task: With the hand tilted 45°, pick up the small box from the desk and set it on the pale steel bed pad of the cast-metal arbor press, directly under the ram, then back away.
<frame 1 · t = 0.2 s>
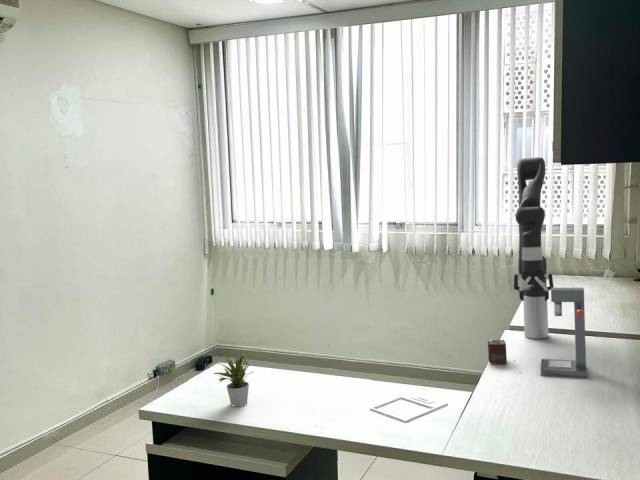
hand: (534, 300, 232), 18 cm above the table, tool pointing down, fingers open, 8 cm apart
press: (563, 370, 202), on the table
photo frame: (408, 409, 180), on the table
box: (497, 362, 217), on the table
house plant: (238, 403, 193), on the table
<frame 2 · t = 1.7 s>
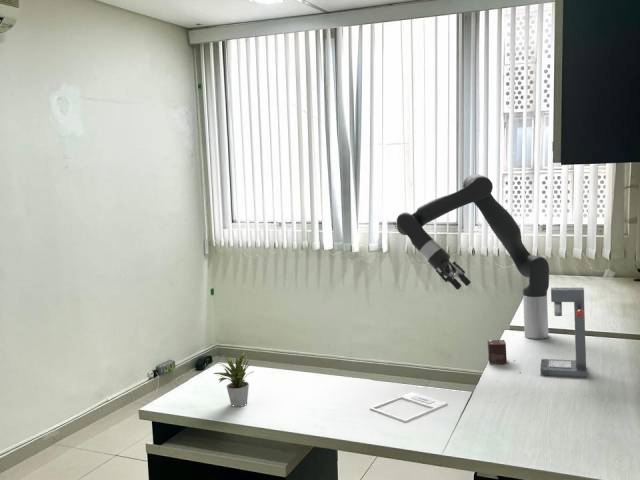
hand: (464, 286, 221), 27 cm above the table, tool tilted 45°, fingers open, 8 cm apart
nothing on the table moved.
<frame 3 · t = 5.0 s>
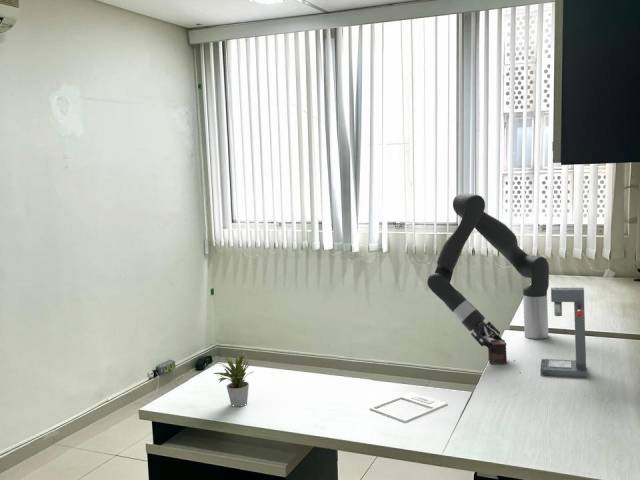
hand: (500, 349, 216), 5 cm above the table, tool tilted 45°, fingers closed on box, 8 cm apart
box: (497, 362, 217), on the table, touching gripper
everything else where it was.
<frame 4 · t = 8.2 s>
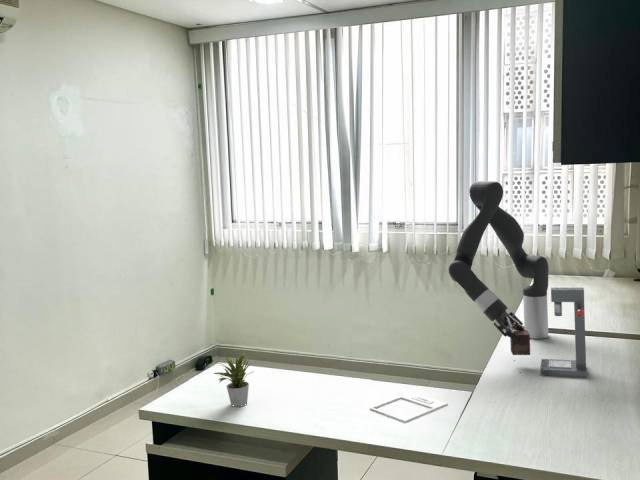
hand: (523, 340, 209), 9 cm above the table, tool tilted 45°, fingers closed on box, 8 cm apart
box: (520, 353, 210), point 4 cm above the table, touching gripper
everything else where it was.
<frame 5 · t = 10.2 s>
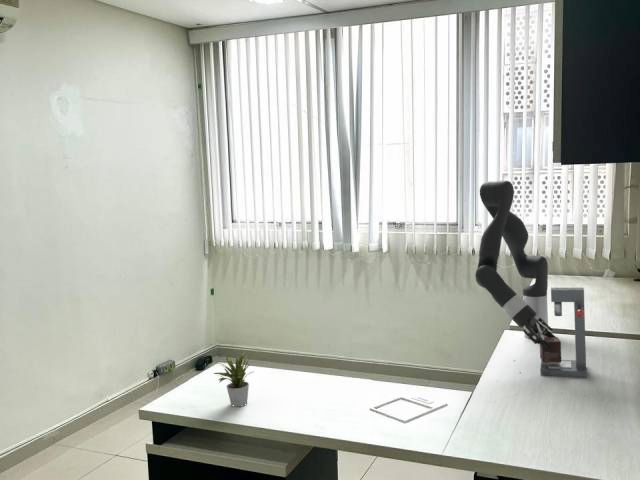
hand: (554, 347, 203), 8 cm above the table, tool tilted 45°, fingers closed on box, 8 cm apart
box: (550, 360, 204), point 3 cm above the table, touching gripper
everything else where it was.
when the fingers open (8 cm above the table, at t = 11.5 s): box stays where it is, resting on press.
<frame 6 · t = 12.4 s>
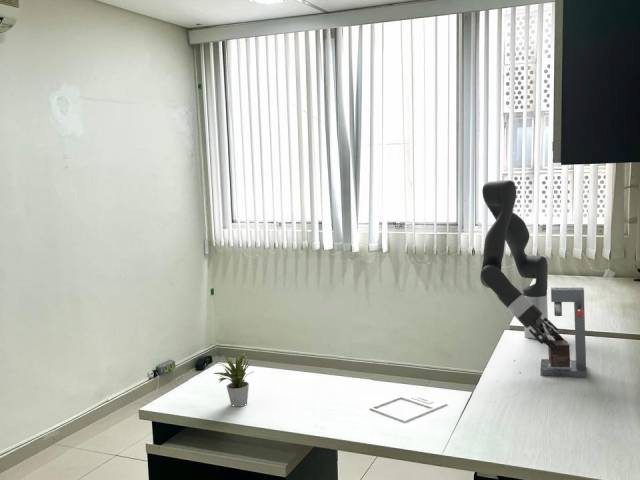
hand: (560, 346, 202), 8 cm above the table, tool tilted 45°, fingers open, 8 cm apart
box: (559, 364, 203), point 2 cm above the table, touching gripper, press
everything else where it was.
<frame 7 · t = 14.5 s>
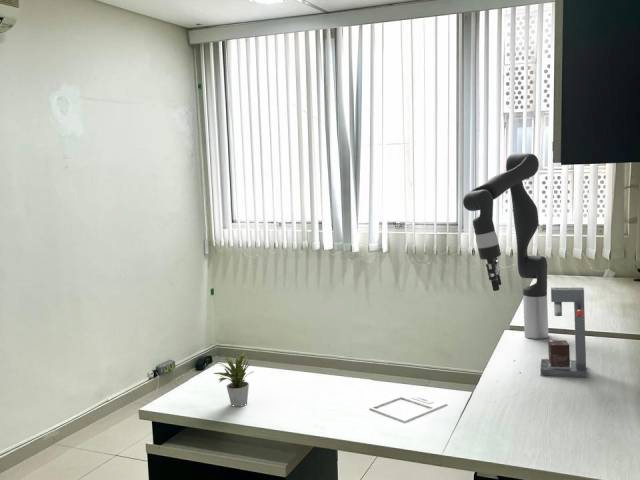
hand: (497, 287, 219), 26 cm above the table, tool pointing down, fingers open, 8 cm apart
box: (559, 364, 203), point 2 cm above the table, touching press
everything else where it was.
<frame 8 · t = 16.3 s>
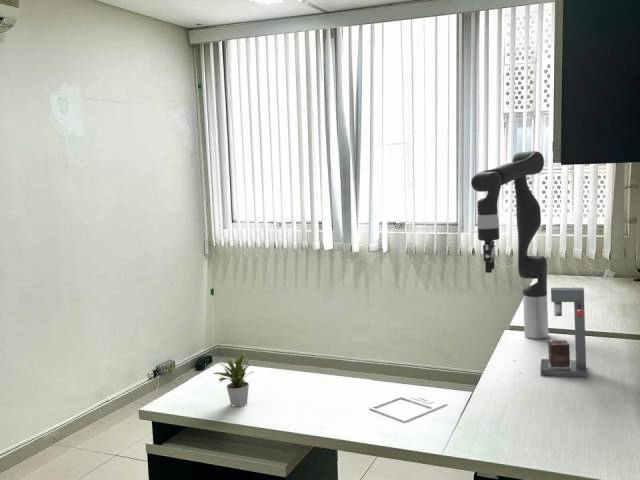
hand: (490, 270, 221), 32 cm above the table, tool pointing down, fingers open, 8 cm apart
nothing on the table moved.
at the end: box inside the target area on the press (0.2 cm from its centre), point 2.2 cm above the press's base; box tilted 0°; the gripper is holding nothing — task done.
